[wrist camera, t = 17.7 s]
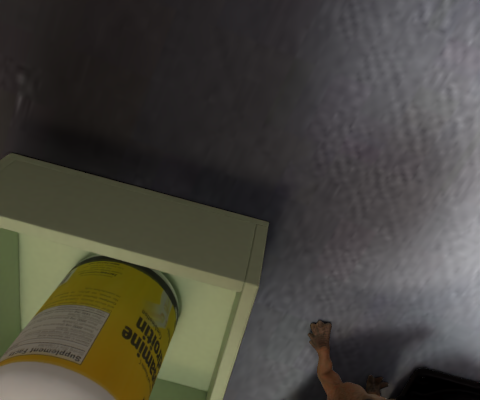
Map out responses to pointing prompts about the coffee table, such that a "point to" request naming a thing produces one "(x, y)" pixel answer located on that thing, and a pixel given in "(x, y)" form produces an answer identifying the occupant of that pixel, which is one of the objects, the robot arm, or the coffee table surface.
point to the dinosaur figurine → (338, 394)
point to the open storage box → (132, 261)
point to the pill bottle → (94, 336)
